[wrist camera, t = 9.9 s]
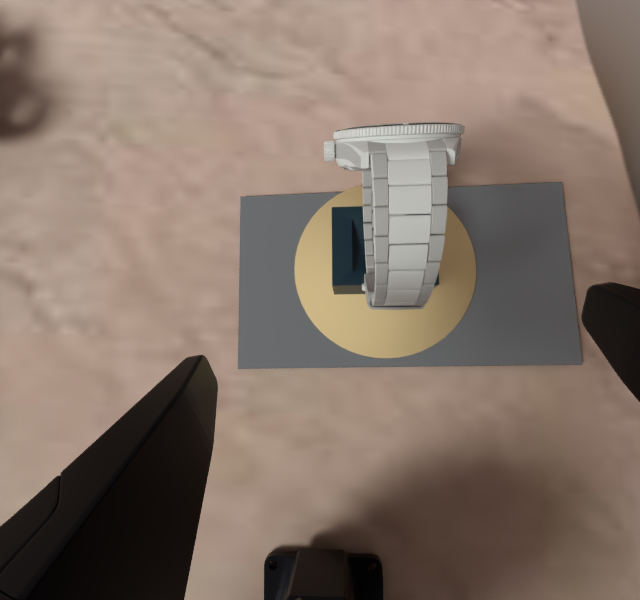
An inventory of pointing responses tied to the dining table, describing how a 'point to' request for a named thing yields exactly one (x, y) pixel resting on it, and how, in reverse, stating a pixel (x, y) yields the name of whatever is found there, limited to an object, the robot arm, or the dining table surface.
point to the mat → (444, 303)
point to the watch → (393, 211)
